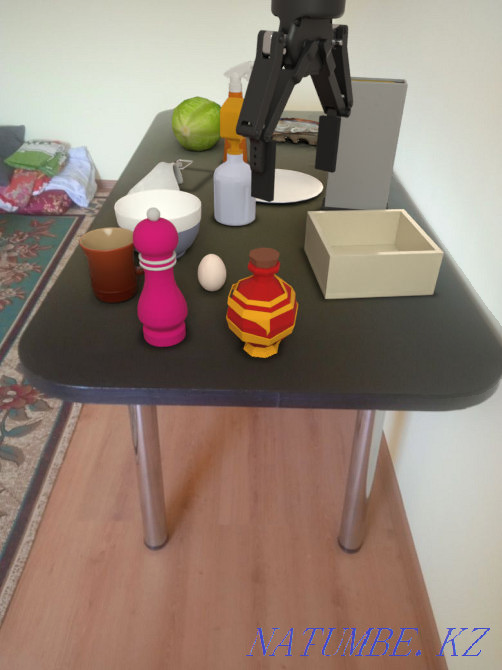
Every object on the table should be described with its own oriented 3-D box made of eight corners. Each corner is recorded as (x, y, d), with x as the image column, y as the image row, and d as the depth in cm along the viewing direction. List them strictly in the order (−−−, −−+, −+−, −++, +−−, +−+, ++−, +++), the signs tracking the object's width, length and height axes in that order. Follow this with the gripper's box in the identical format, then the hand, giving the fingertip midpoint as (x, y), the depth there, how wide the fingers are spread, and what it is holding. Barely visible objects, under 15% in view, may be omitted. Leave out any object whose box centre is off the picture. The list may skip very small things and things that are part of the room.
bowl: (120, 273, 93) (113, 223, 88) (120, 236, 106) (114, 191, 100) (208, 266, 96) (206, 217, 90) (198, 231, 108) (196, 187, 103)
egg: (232, 290, 89) (232, 255, 85) (210, 300, 86) (209, 264, 82) (214, 280, 92) (213, 245, 88) (192, 289, 89) (190, 254, 85)
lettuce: (215, 157, 148) (165, 159, 153) (238, 138, 166) (193, 140, 171) (207, 103, 140) (155, 107, 145) (232, 88, 158) (185, 92, 163)
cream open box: (433, 294, 89) (443, 252, 84) (325, 299, 87) (330, 256, 82) (396, 246, 104) (403, 209, 100) (304, 249, 102) (307, 211, 98)
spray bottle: (255, 169, 143) (258, 63, 128) (219, 165, 146) (217, 60, 131) (263, 162, 149) (266, 59, 134) (227, 158, 151) (227, 57, 136)
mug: (92, 312, 82) (81, 253, 77) (86, 286, 89) (76, 230, 83) (166, 299, 86) (161, 243, 80) (155, 275, 93) (150, 222, 87)
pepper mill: (136, 326, 79) (119, 201, 68) (182, 318, 81) (173, 195, 70) (145, 353, 74) (129, 222, 62) (194, 343, 76) (187, 214, 64)
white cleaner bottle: (260, 214, 117) (264, 97, 103) (246, 229, 110) (248, 105, 96) (224, 208, 119) (222, 93, 105) (208, 223, 112) (204, 101, 98)
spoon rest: (174, 222, 112) (171, 190, 108) (121, 219, 113) (117, 187, 109) (195, 184, 131) (194, 156, 127) (150, 182, 132) (148, 153, 128)
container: (323, 217, 122) (311, 79, 106) (404, 211, 118) (405, 65, 101) (321, 230, 116) (308, 85, 100) (406, 224, 112) (408, 71, 95)
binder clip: (183, 183, 133) (182, 162, 130) (169, 181, 134) (167, 160, 131) (193, 176, 138) (192, 155, 135) (179, 174, 139) (178, 153, 136)
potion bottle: (308, 340, 77) (317, 249, 68) (273, 378, 70) (279, 281, 61) (249, 319, 82) (250, 231, 73) (210, 352, 74) (207, 258, 66)
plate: (210, 178, 136) (210, 174, 136) (294, 168, 145) (295, 164, 144) (247, 212, 118) (247, 207, 117) (341, 198, 126) (342, 193, 125)
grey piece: (245, 142, 165) (246, 125, 162) (262, 127, 182) (262, 110, 179) (339, 151, 159) (341, 133, 156) (347, 134, 176) (349, 117, 173)
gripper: (340, -29, 61) (323, 155, 73) (195, -33, 44) (203, 204, 57) (400, -28, 57) (371, 165, 69) (264, -32, 41) (258, 222, 53)
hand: (295, 183), depth 63 cm, fingers open, 13 cm apart
